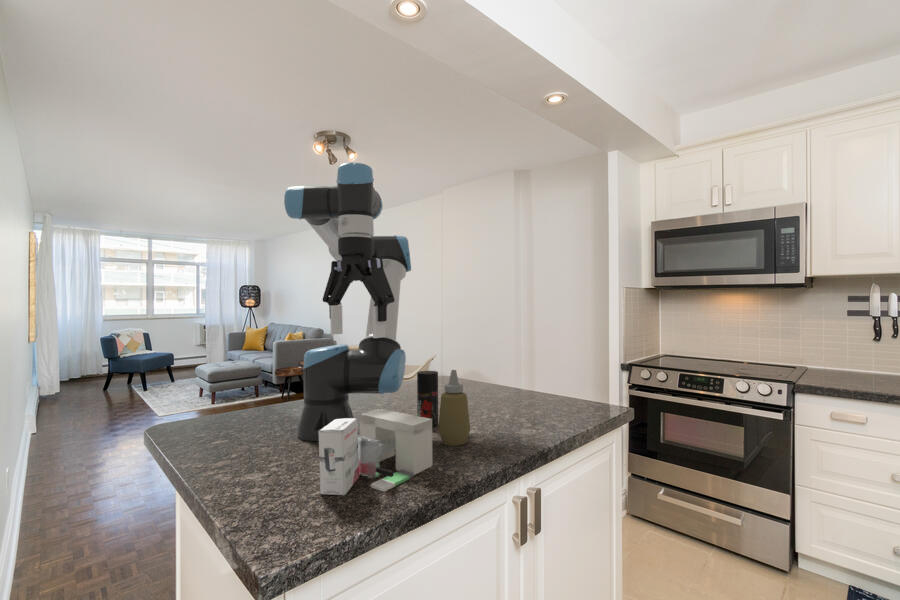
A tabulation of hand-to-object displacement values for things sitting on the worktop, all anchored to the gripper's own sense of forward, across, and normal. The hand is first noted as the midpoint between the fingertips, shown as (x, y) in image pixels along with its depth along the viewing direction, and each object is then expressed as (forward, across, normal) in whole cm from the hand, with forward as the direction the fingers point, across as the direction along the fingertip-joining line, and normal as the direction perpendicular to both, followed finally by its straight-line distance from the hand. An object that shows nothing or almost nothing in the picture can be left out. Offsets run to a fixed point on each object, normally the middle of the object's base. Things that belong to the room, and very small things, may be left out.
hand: (357, 335), depth 93 cm
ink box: (+28, +6, -10) cm, 30 cm away
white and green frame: (+28, +6, +1) cm, 28 cm away
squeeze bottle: (+28, +9, +23) cm, 38 cm away
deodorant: (+29, -6, +31) cm, 43 cm away
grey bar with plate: (+27, +8, 0) cm, 28 cm away
